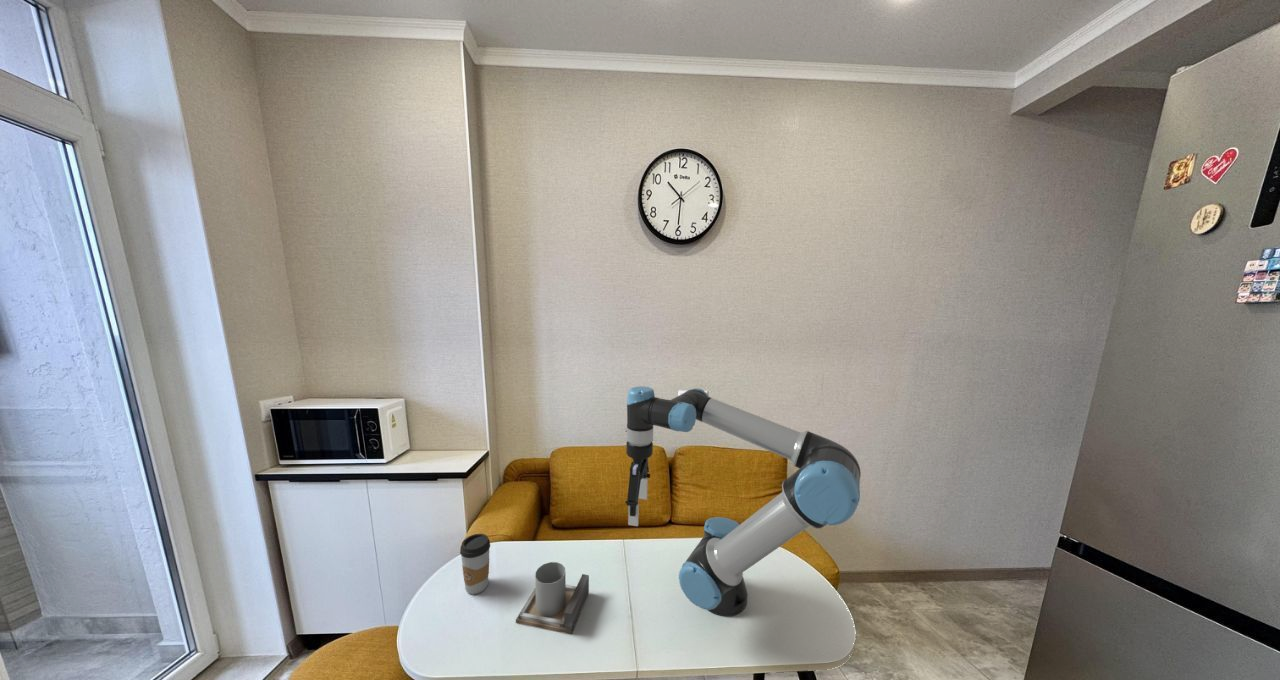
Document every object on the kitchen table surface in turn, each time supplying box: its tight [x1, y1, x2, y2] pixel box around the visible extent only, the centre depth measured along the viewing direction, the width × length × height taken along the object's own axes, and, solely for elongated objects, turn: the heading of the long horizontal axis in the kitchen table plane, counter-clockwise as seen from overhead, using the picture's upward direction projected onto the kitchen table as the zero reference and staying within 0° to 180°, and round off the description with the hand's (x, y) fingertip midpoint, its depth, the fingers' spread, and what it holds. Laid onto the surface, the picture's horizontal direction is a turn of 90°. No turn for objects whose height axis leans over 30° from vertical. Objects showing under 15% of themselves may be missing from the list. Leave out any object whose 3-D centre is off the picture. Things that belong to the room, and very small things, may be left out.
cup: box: [534, 561, 567, 617], centre depth 107 cm, size 8×8×10 cm
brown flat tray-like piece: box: [515, 573, 590, 635], centre depth 108 cm, size 16×14×6 cm
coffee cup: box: [459, 533, 491, 595], centre depth 114 cm, size 8×8×15 cm
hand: (638, 511), depth 110 cm, fingers open, 13 cm apart
